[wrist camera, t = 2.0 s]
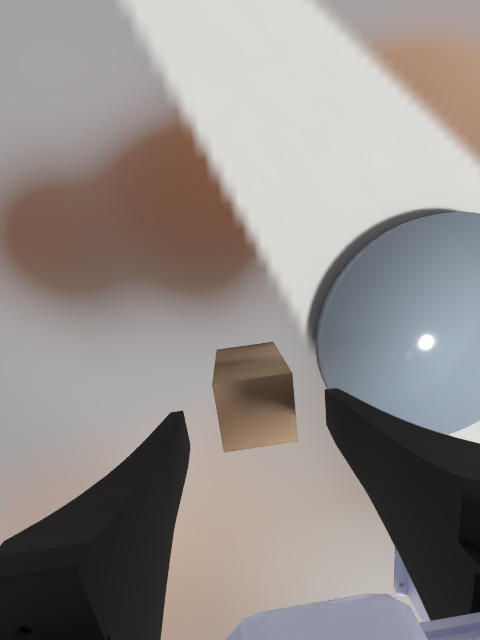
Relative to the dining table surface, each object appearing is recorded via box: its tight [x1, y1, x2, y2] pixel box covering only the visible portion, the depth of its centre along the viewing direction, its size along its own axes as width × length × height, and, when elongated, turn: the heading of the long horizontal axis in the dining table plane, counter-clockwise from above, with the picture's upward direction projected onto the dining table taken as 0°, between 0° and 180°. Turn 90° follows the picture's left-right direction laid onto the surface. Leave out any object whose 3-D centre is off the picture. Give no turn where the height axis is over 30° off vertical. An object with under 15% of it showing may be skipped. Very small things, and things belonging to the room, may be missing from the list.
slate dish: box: [316, 212, 480, 435], centre depth 16 cm, size 16×16×1 cm
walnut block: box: [212, 342, 298, 452], centre depth 14 cm, size 4×4×5 cm
